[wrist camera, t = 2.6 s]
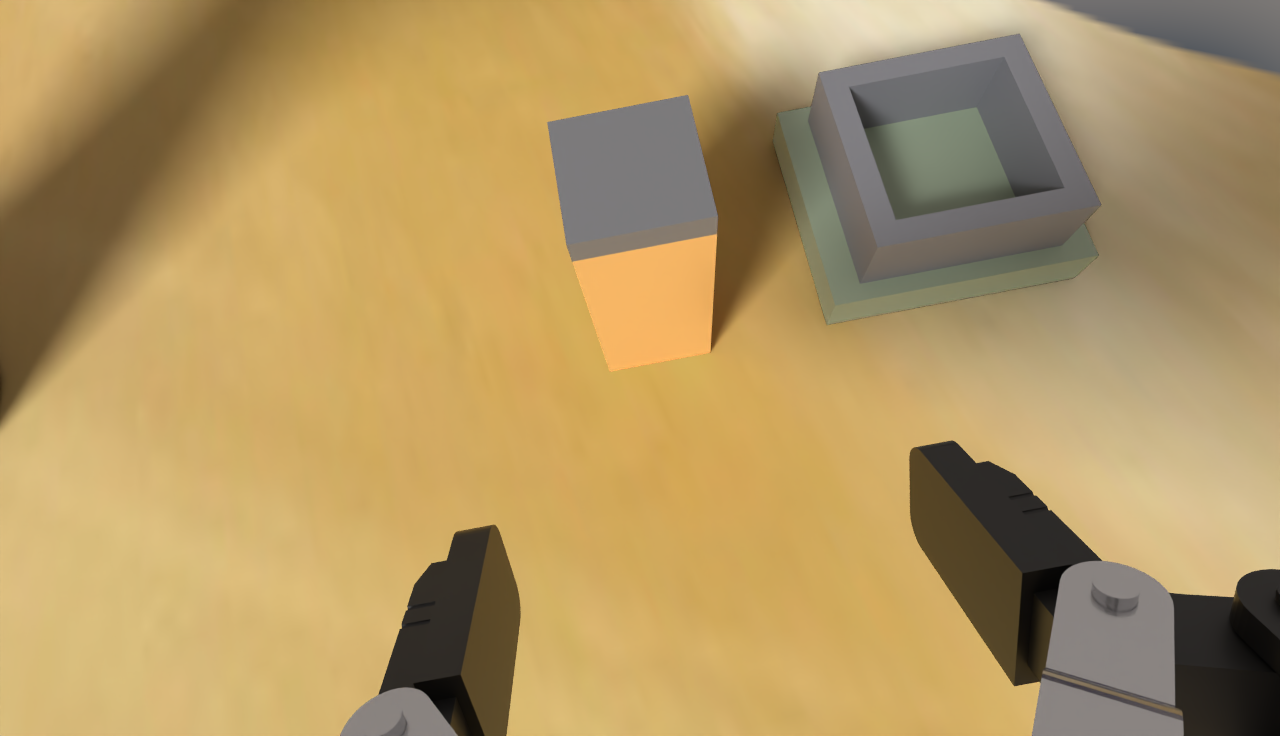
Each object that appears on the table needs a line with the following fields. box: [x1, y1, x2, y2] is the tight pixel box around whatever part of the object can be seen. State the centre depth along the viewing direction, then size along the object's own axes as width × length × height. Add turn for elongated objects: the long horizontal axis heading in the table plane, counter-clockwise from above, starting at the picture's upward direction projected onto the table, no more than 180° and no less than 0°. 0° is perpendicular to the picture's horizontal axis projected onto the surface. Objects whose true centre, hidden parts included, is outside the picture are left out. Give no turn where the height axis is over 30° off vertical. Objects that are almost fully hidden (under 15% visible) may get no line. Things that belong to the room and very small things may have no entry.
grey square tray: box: [773, 34, 1101, 325], centre depth 30 cm, size 11×10×5 cm
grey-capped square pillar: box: [547, 95, 718, 372], centre depth 26 cm, size 4×4×11 cm
